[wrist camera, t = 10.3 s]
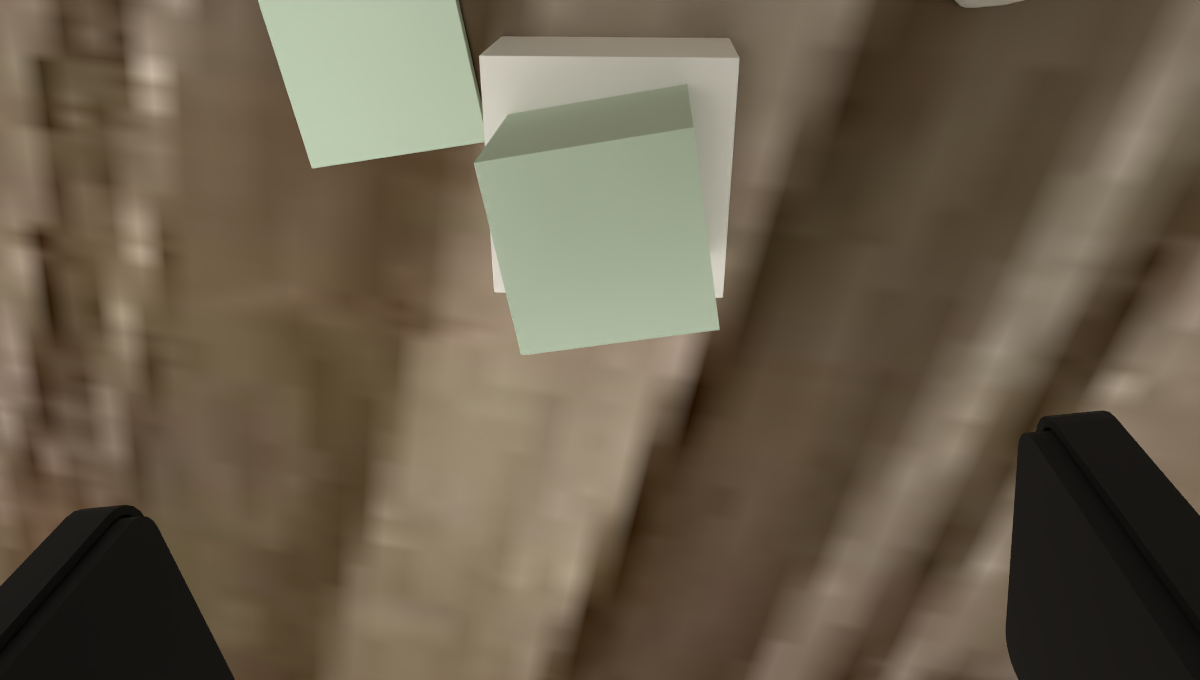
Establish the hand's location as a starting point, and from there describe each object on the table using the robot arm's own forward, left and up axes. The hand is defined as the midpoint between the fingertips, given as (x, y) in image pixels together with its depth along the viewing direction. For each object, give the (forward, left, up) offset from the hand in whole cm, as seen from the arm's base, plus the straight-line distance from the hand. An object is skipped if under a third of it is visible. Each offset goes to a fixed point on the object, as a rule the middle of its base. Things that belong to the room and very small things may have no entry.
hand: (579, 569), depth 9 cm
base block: (+1, -1, -21) cm, 21 cm away
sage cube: (+1, -1, -17) cm, 17 cm away
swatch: (-3, -8, -20) cm, 22 cm away
